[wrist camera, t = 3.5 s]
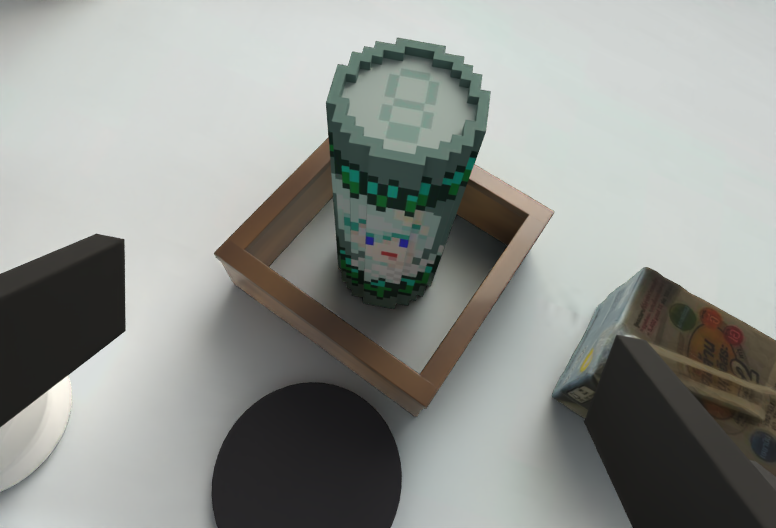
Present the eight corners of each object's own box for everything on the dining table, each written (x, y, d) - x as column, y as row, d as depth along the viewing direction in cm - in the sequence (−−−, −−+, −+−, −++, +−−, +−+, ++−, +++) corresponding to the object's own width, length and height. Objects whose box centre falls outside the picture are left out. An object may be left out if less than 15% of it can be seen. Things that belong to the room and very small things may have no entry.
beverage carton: (597, 296, 32) (653, 251, 26) (896, 476, 29) (1039, 472, 23) (543, 397, 29) (592, 372, 23) (870, 614, 26) (1027, 650, 20)
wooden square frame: (231, 283, 31) (213, 253, 27) (364, 142, 36) (365, 99, 33) (416, 420, 28) (426, 408, 24) (531, 244, 34) (555, 211, 30)
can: (331, 297, 31) (312, 145, 18) (351, 216, 34) (348, 29, 20) (426, 315, 31) (480, 175, 17) (438, 232, 34) (494, 54, 20)
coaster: (173, 501, 26) (169, 502, 25) (296, 350, 30) (295, 348, 29) (324, 634, 24) (323, 637, 23) (435, 454, 28) (437, 453, 27)
